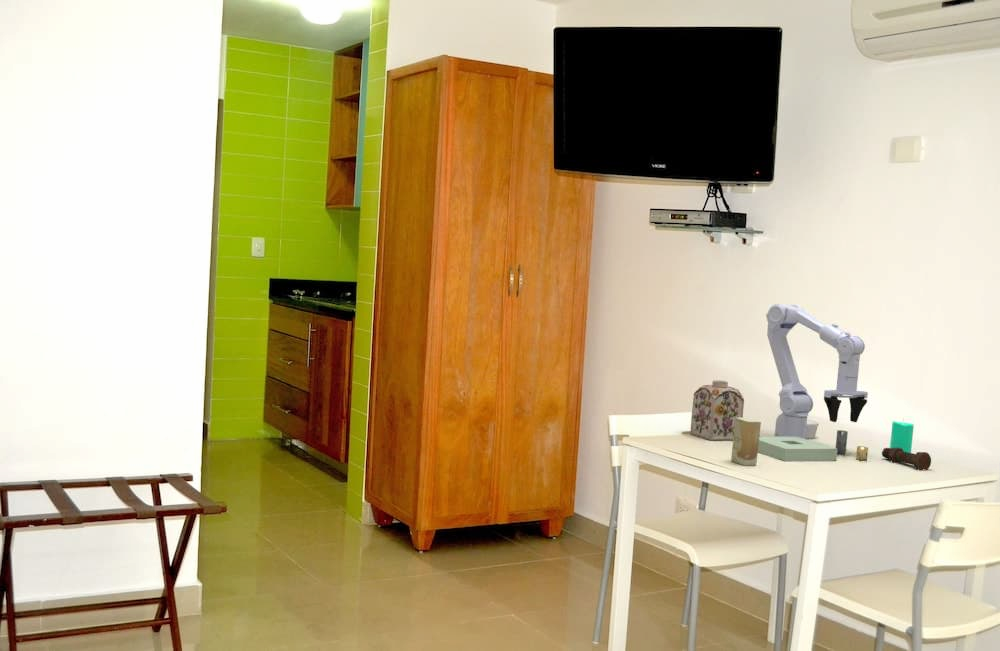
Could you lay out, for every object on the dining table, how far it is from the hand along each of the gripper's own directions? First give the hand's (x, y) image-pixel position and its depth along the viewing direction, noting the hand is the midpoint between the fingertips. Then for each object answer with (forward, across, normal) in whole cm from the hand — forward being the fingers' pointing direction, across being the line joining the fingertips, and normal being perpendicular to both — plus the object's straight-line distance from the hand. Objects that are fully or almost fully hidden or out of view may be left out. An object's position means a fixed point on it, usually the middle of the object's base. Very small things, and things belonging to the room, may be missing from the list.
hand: (843, 421), depth 287 cm
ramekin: (+10, +7, +28) cm, 31 cm away
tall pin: (+10, 0, 0) cm, 10 cm away
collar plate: (+10, -18, 0) cm, 21 cm away
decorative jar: (+10, -27, +26) cm, 39 cm away
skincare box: (+10, -42, -11) cm, 45 cm away
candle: (+10, +18, -5) cm, 21 cm away
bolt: (+10, +11, -14) cm, 21 cm away
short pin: (+10, 0, -9) cm, 13 cm away
